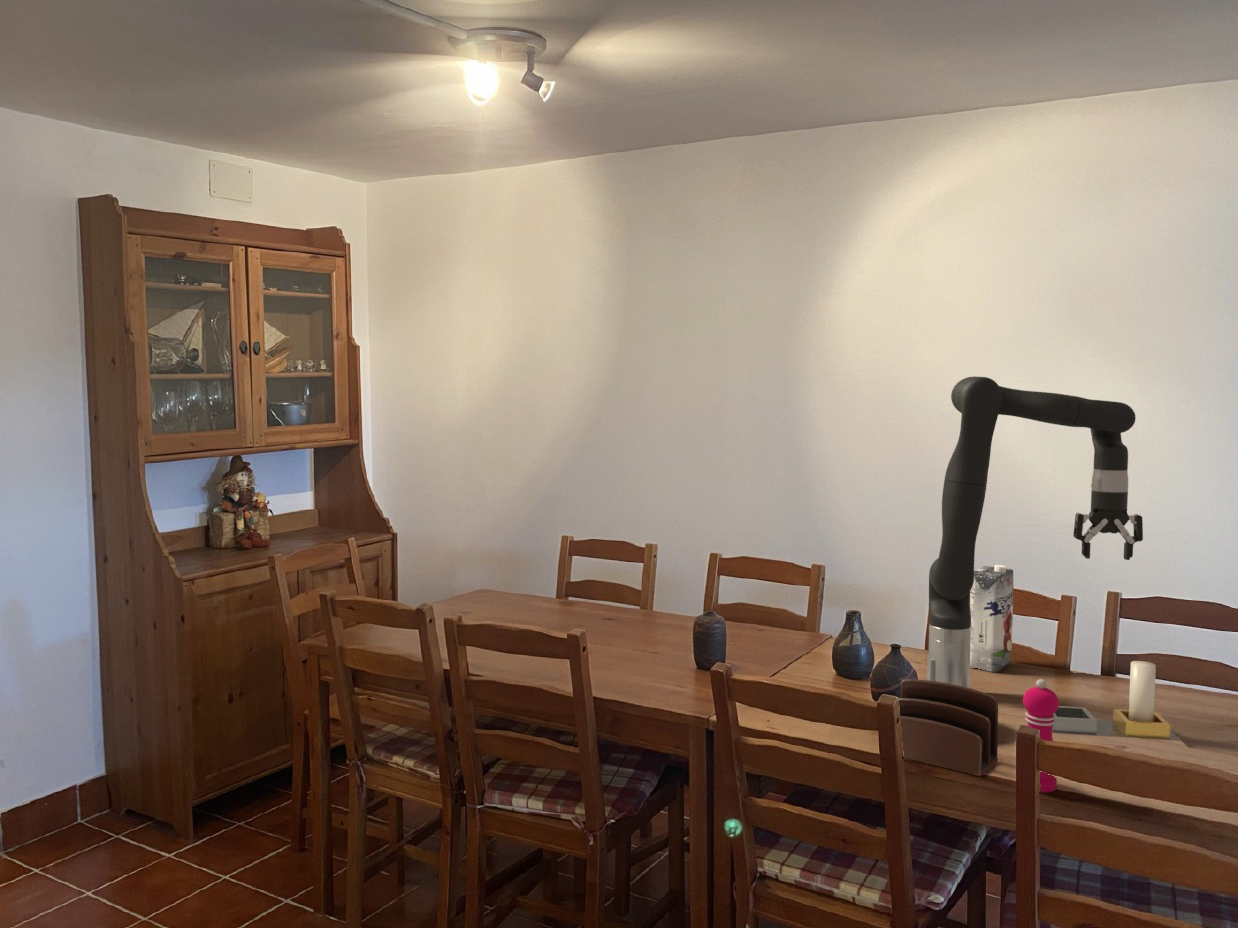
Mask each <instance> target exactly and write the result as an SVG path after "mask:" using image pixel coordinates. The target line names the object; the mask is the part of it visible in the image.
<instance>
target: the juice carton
mask: <svg viewBox="0 0 1238 928" xmlns="http://www.w3.org/2000/svg"><path fill="white" fill-rule="evenodd" d="M970 613H971V637H970V668H971V667H973V668H972V669H974V668H978V669H977V670H980V669H982V670H981V671H985V670H986V671H985V672H989V673H990V672H992V673H999V672H1000V671H1002V670H1003V669H1006V668H1007V667H1008V666H1009V665H1010V662H1011V657H1012V643H1013V620H1014V619H1013V617H1014V616H1013V615H1014V570H1013V569H1012V568H1007V565H1003V564H994V566H987V565H983V566H982V567H981V568H979V569H974V583H973V586H972V589H971V590H970Z"/></svg>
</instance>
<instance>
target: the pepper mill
mask: <svg viewBox="0 0 1238 928" xmlns="http://www.w3.org/2000/svg"><path fill="white" fill-rule="evenodd" d="M1047 685H1048V684H1047V681H1046V680H1044V679H1043V678H1042V679H1041V678H1039V679H1037V680H1036V683H1035V686H1032V687H1030V688H1028V689H1027V690H1026V691H1025V693H1024V694H1023V698H1022V704H1023V706H1024V708H1025V709H1026V711H1025V719H1024V720H1025V721H1026V722H1027V728H1028V727H1032V728H1036V729H1039V730H1040V738H1041V739H1043V740H1047V741H1053V742H1054V739H1053V733H1052V725H1053V724H1055V715H1054V713H1055V712H1056V711H1057V709H1058V707H1059V706H1060V705H1059V703H1060V702H1059V698H1058V696H1057V693H1055V692H1054V691H1053V690H1052V689H1050V688H1048V687H1047ZM1054 776H1055V775H1054ZM1054 776H1052V775H1048V774H1047V773H1044V772H1040V785H1041V792H1040V793H1051V792H1054V791H1056V790H1057V786H1058V785H1057V784H1058V779H1057V777H1056V776H1055V777H1056V778H1055V777H1054Z"/></svg>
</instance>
